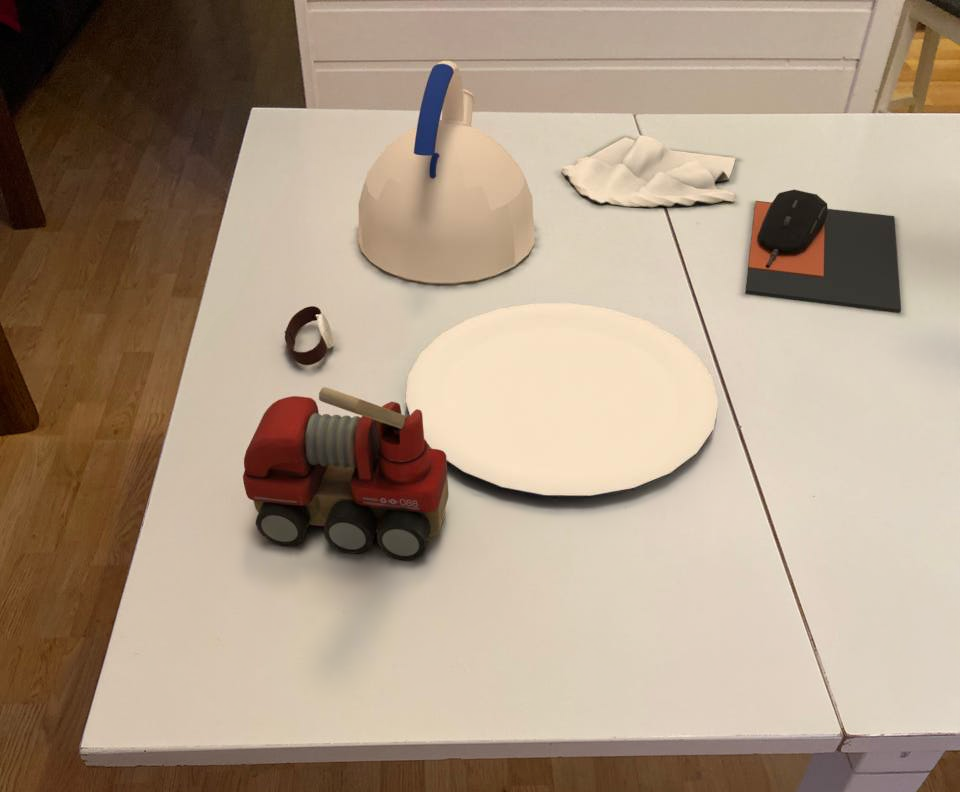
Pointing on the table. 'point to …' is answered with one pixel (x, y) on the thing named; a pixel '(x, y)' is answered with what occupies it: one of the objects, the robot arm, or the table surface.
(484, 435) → the plate
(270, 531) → the toy fire truck
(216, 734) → the table surface
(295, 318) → the watch
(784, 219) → the gaming mouse
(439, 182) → the kettle
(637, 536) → the table surface
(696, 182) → the cloth
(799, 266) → the mat
